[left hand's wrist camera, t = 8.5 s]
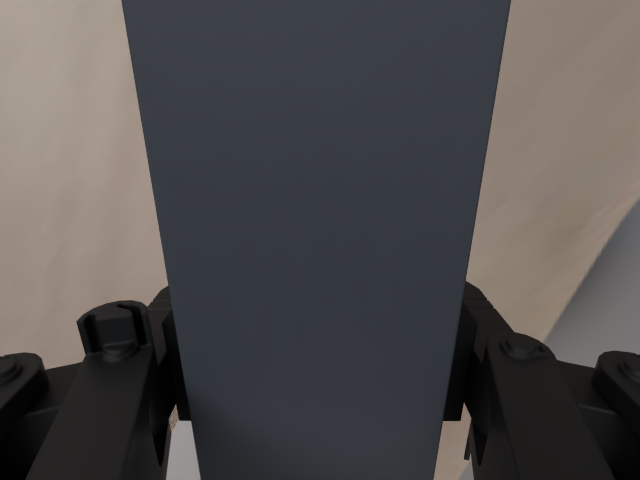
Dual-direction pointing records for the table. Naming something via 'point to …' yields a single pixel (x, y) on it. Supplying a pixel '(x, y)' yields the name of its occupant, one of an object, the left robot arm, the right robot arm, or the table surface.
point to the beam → (316, 219)
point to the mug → (182, 454)
